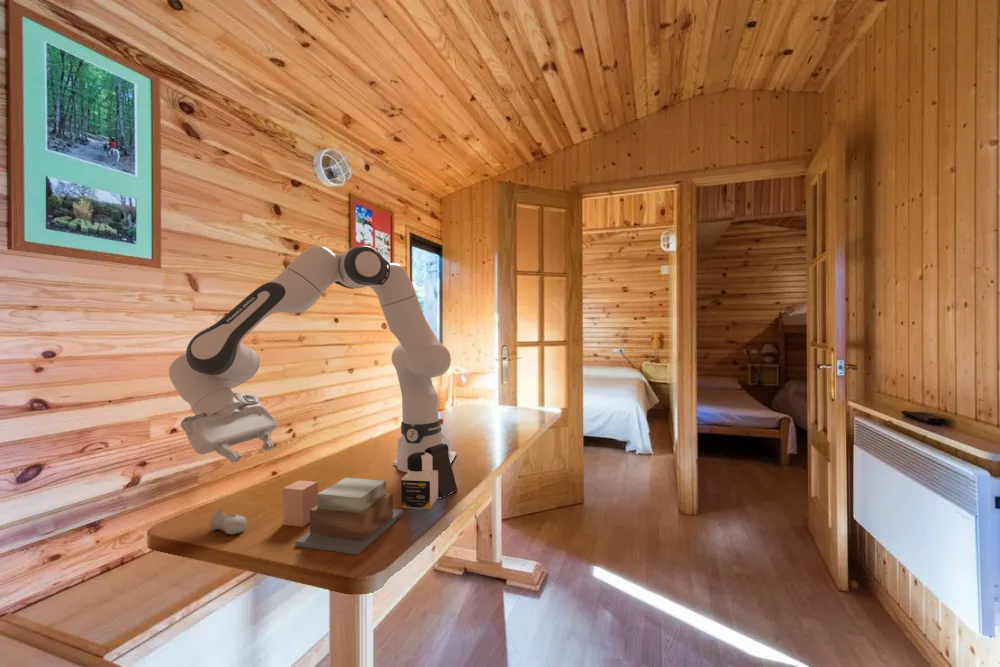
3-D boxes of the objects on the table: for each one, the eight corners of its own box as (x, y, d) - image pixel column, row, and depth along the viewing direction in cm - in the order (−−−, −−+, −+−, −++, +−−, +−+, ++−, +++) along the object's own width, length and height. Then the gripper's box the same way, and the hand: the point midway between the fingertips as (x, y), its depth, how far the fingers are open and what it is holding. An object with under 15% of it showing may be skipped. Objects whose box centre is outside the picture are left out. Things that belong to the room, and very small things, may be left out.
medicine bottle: (401, 508, 101) (400, 458, 101) (411, 496, 108) (411, 449, 108) (430, 509, 100) (429, 459, 100) (438, 498, 107) (438, 450, 107)
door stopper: (416, 491, 112) (416, 445, 112) (433, 484, 117) (432, 440, 116) (441, 499, 106) (441, 451, 106) (457, 491, 111) (457, 445, 111)
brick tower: (345, 510, 98) (345, 475, 98) (392, 515, 95) (392, 479, 95) (310, 534, 86) (309, 495, 86) (362, 541, 83) (361, 500, 83)
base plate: (349, 508, 101) (349, 504, 101) (403, 514, 97) (403, 510, 97) (295, 546, 84) (295, 540, 84) (358, 554, 80) (358, 549, 80)
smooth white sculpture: (250, 536, 90) (226, 539, 86) (227, 528, 94) (203, 530, 90) (256, 515, 91) (233, 516, 87) (233, 507, 95) (210, 509, 91)
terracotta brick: (299, 514, 98) (299, 480, 98) (318, 516, 97) (317, 481, 97) (283, 524, 93) (282, 488, 93) (302, 526, 92) (302, 489, 92)
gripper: (184, 409, 90) (222, 458, 88) (261, 394, 110) (294, 434, 107) (168, 429, 91) (205, 478, 89) (247, 411, 111) (279, 451, 108)
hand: (254, 454), depth 98 cm, fingers open, 8 cm apart
